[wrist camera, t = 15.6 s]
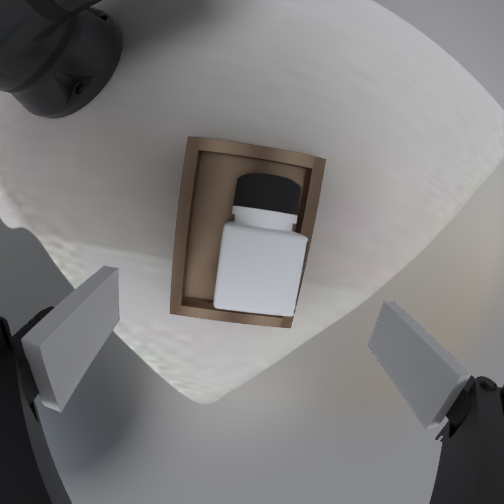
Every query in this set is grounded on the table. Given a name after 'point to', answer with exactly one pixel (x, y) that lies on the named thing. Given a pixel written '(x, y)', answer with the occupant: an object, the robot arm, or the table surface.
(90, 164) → the table surface
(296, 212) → the medicine bottle
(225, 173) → the walnut tray
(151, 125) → the table surface
